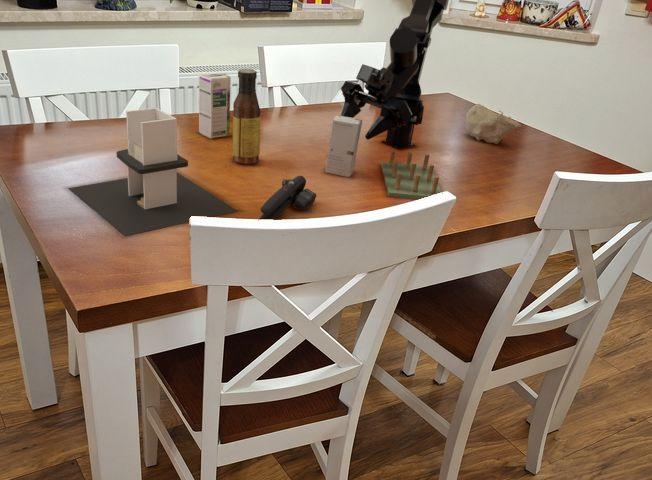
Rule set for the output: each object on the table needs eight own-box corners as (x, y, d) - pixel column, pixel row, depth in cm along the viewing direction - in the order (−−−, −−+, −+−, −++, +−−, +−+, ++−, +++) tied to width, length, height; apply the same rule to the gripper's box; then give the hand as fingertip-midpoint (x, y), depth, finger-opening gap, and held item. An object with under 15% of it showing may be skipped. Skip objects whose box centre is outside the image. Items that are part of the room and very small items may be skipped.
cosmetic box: (324, 173, 149) (331, 119, 142) (329, 167, 153) (336, 114, 146) (350, 178, 148) (358, 123, 141) (354, 171, 152) (362, 118, 145)
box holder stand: (67, 188, 131) (58, 103, 121) (173, 170, 144) (172, 92, 134) (125, 236, 115) (119, 143, 106) (238, 210, 128) (242, 126, 119)
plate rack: (380, 165, 157) (384, 147, 154) (430, 170, 157) (434, 151, 154) (387, 196, 140) (391, 176, 138) (443, 202, 140) (448, 181, 138)
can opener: (290, 195, 137) (292, 168, 134) (319, 203, 134) (322, 177, 131) (244, 221, 124) (246, 193, 121) (276, 231, 121) (278, 203, 118)
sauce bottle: (263, 160, 153) (269, 71, 142) (250, 167, 148) (255, 75, 137) (239, 154, 155) (243, 65, 144) (226, 161, 151) (229, 70, 139)
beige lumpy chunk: (456, 137, 189) (458, 112, 174) (472, 116, 188) (475, 91, 174) (499, 166, 185) (505, 143, 170) (516, 145, 184) (523, 121, 170)
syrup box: (211, 139, 163) (212, 78, 155) (198, 132, 167) (198, 72, 159) (229, 136, 166) (231, 76, 158) (216, 129, 170) (217, 70, 162)
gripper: (352, 42, 146) (309, 97, 146) (413, 60, 134) (366, 120, 134) (372, 77, 154) (331, 129, 155) (431, 96, 142) (386, 153, 143)
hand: (352, 132), depth 146 cm, fingers open, 9 cm apart
